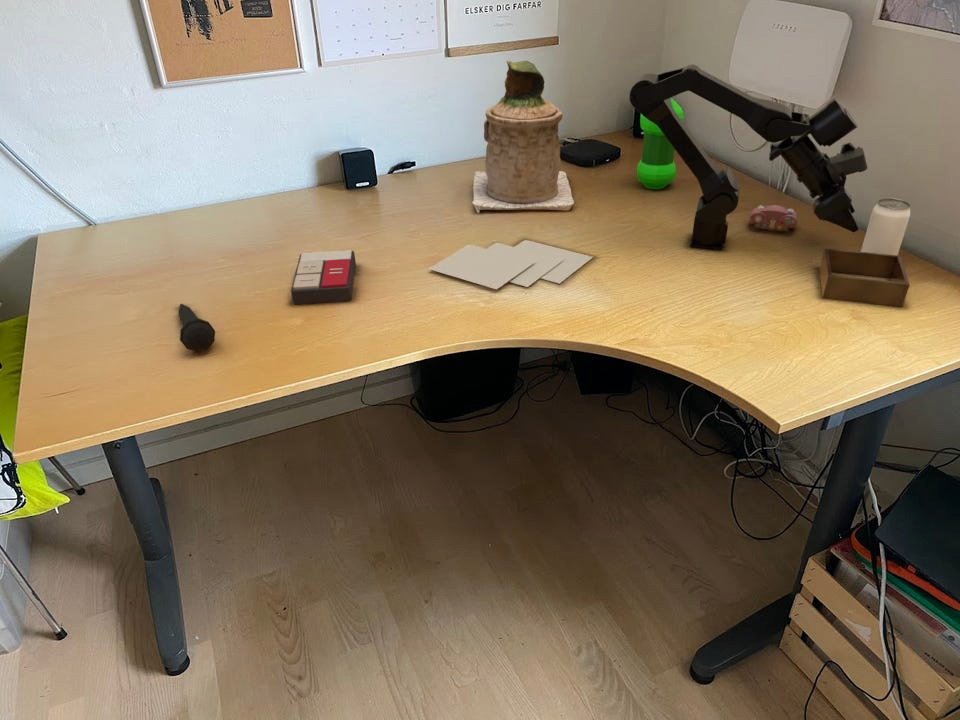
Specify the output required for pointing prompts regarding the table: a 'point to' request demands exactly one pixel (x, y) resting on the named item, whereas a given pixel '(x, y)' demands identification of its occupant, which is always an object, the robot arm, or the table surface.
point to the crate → (861, 287)
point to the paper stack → (511, 264)
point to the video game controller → (774, 217)
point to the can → (887, 226)
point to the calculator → (324, 277)
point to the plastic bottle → (656, 154)
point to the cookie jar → (522, 148)
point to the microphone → (195, 330)
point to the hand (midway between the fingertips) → (854, 221)
